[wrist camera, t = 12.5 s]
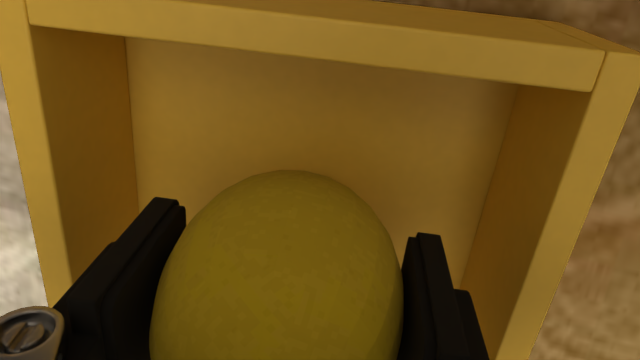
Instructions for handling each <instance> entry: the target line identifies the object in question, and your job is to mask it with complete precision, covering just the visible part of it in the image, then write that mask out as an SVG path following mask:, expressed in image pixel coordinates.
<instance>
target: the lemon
mask: <svg viewBox="0 0 640 360" xmlns="http://www.w3.org/2000/svg"><path fill="white" fill-rule="evenodd" d="M403 321H404V287H403V277H402V272H401V268H400V264H399V261H398V258H397V255H396V252H395V249H394V246H393V243H392V240H391V238H390V235H389V233H388V231H387V230H386V228H385V227H384V225H383V224H382V222H381V221H380V219H379V218H378V216H377V215H376V214H375V212H374V211H373V209H372V208H371V207H370V206H369V205H368V204H367V203H366V202H365V201H364V200H363V199H361V198H360V197H359V196H358V195H357V194H356V193H355V192H353V191H352V190H351V189H350V188H349V187H347V186H345V185H343V184H341V183H339V182H337V181H335V180H333V179H332V178H330V177H328V176H324V175H320V174H316V173H312V172H308V171H304V170H276V171H271V172H266V173H262V174H257V175H253V176H250V177H248V178H246V179H244V180H242V181H240V182H238V183H236V184H234V185H232V186H230V187H228V188H226V189H225V190H223V191H222V192H220V193H219V194H218V195H217V196H216V197H214V198H213V199H212V200H211V201H210V202H209V203H208V204H207V205H206V206H205V207H204V208H202V209H201V210H200V211H199V212H198V213H197V214H196V215H195V216H194V217H193V218H192V220H191V221H190V222H189V224H188V225H187V226H186V228H185V229H184V231H183V233H182V234H181V236H180V238H179V240H178V241H177V243H176V245H175V247H174V248H173V250H172V252H171V254H170V256H169V257H168V259H167V261H166V264H165V266H164V268H163V271H162V274H161V277H160V280H159V283H158V287H157V291H156V296H155V301H154V306H153V312H152V317H151V324H150V331H149V350H150V357H151V360H396V359H397V355H398V351H399V348H400V343H401V338H402V332H403Z"/></svg>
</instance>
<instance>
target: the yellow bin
mask: <svg viewBox="0 0 640 360" xmlns="http://www.w3.org/2000/svg"><path fill="white" fill-rule="evenodd" d="M0 71H1V76H2V80H3V85H4V90H5V95H6V100H7V105H8V110H9V115H10V120H11V125H12V130H13V135H14V140H15V144H16V149H17V154H18V159H19V164H20V169H21V174H22V179H23V184H24V189H25V194H26V199H27V204H28V208H29V213H30V218H31V223H32V228H33V233H34V238H35V243H36V248H37V253H38V258H39V263H40V268H41V272H42V277H43V282H44V287H45V292H46V297H47V302H48V307H50V308H52V307H53V306H54V305H55V304H56V303H57V302H58V301H59V299H60V298H61V297H62V296H63V295H64V294H65V293H66V291H67V290H68V289H69V288H70V287H71V286H72V285H73V284H74V282H75V281H76V280H77V279H78V278H79V277H80V276H81V275H82V273H83V272H84V271H85V270H86V269H87V268H88V267H89V265H90V264H91V263H92V262H93V261H94V260H95V259H96V258H97V256H98V255H99V254H100V253H101V252H102V251H103V250H104V249H105V247H106V246H107V245H109V244H110V243H111V242H115V241H116V240H117V239H118V238H119V237H120V236H121V235H122V233H123V232H124V231H125V230H126V229H127V228H128V227H129V225H130V224H131V223H132V222H133V221H134V220H135V218H136V217H137V216H138V215H139V214H140V213H141V212H142V210H143V209H144V208H145V207H146V206H147V205H148V204H149V202H150V201H151V200H152V199H153V198H154V197H162V198H169V199H177V200H178V201H179V205H180V206H184V207H185V209H186V226H187V225H188V224H189V222H190V221H191V220H192V218H193V217H194V216H195V215H196V214H197V213H198V212H199V211H200V210H201V209H202V208H204V207H205V206H206V205H207V204H208V203H209V202H210V201H211V200H212V199H213V198H214V197H216V196H217V195H218V194H219V193H220V192H222V191H223V190H225V189H226V188H228V187H230V186H232V185H234V184H236V183H238V182H240V181H242V180H244V179H246V178H248V177H250V176H253V175H257V174H262V173H266V172H271V171H276V170H304V171H308V172H312V173H316V174H320V175H324V176H328V177H330V178H332V179H333V180H335V181H337V182H339V183H341V184H343V185H345V186H347V187H349V188H350V189H351V190H352V191H353V192H355V193H356V194H357V195H358V196H359V197H360V198H361V199H363V200H364V201H365V202H366V203H367V204H368V205H369V206H370V207H371V208H372V209H373V211H374V212H375V214H376V215H377V216H378V218H379V219H380V221H381V222H382V224H383V225H384V227H385V228H386V230H387V231H388V233H389V235H390V238H391V240H392V243H393V246H394V249H395V252H396V255H397V258H398V261H399V264H400V268H401V267H402V263H403V258H404V254H405V249H406V244H407V240H408V237H409V236H410V237H416V235H417V233H418V232H422V233H429V234H437V235H440V236H441V239H442V243H443V247H444V251H445V255H446V259H447V263H448V267H449V271H450V275H451V279H452V283H453V287H454V289H460V290H467V291H468V292H469V293H470V295H471V298H472V301H473V305H474V308H475V311H476V315H477V318H478V322H479V325H480V328H481V332H482V335H483V339H484V342H485V345H486V349H487V352H488V356H489V359H490V360H528V358H529V356H530V353H531V351H532V348H533V346H534V344H535V341H536V339H537V336H538V334H539V331H540V329H541V326H542V324H543V322H544V319H545V317H546V314H547V312H548V309H549V307H550V304H551V302H552V300H553V297H554V295H555V292H556V290H557V287H558V285H559V282H560V280H561V278H562V275H563V273H564V270H565V268H566V265H567V263H568V260H569V258H570V256H571V253H572V251H573V248H574V246H575V243H576V241H577V238H578V236H579V234H580V231H581V229H582V226H583V224H584V221H585V219H586V216H587V214H588V212H589V209H590V207H591V204H592V202H593V199H594V197H595V194H596V192H597V190H598V187H599V185H600V182H601V180H602V177H603V175H604V172H605V170H606V168H607V165H608V163H609V160H610V158H611V155H612V153H613V150H614V148H615V146H616V143H617V141H618V138H619V136H620V133H621V131H622V128H623V126H624V124H625V121H626V119H627V116H628V114H629V111H630V109H631V106H632V104H633V102H634V99H635V97H636V94H637V92H638V89H639V87H640V52H638V51H636V50H633V49H630V48H628V47H625V46H622V45H620V44H617V43H614V42H612V41H609V40H606V39H603V38H601V37H598V36H595V35H593V34H590V33H587V32H585V31H582V30H579V29H577V28H574V27H571V26H568V25H565V24H563V23H560V22H555V21H546V20H537V19H529V18H520V17H511V16H503V15H494V14H485V13H477V12H468V11H459V10H451V9H442V8H433V7H425V6H416V5H407V4H399V3H390V2H381V1H373V0H0Z"/></svg>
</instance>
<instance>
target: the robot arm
mask: <svg viewBox="0 0 640 360" xmlns="http://www.w3.org/2000/svg"><path fill="white" fill-rule="evenodd" d="M185 228H186V209H185V207H184V206H180V205H179V201H178V200H177V199H169V198H162V197H154V198H153V199H152V200H151V201H150V202H149V204H148V205H147V206H146V207H145V208H144V209H143V210H142V212H141V213H140V214H139V215H138V216H137V217H136V218H135V220H134V221H133V222H132V223H131V224H130V225H129V227H128V228H127V229H126V230H125V231H124V232H123V233H122V235H121V236H120V237H119V238H118V239H117V240H116V241H115V242H111V243H110V244H109V245H107V246H106V247H105V249H104V250H103V251H102V252H101V253H100V254H99V255H98V256H97V258H96V259H95V260H94V261H93V262H92V263H91V264H90V265H89V267H88V268H87V269H86V270H85V271H84V272H83V273H82V275H81V276H80V277H79V278H78V279H77V280H76V281H75V282H74V284H73V285H72V286H71V287H70V288H69V289H68V290H67V291H66V293H65V294H64V295H63V296H62V297H61V298H60V299H59V301H58V302H57V303H56V304H55V305H54V306H53V307H52V308H50V307H46V306H31V307H25V308H20V309H17V310H14V311H11V312H9V313H6V314H5V315H3V316H1V317H0V360H151V357H150V350H149V331H150V324H151V317H152V312H153V306H154V301H155V296H156V291H157V287H158V283H159V280H160V277H161V274H162V271H163V268H164V266H165V264H166V261H167V259H168V257H169V256H170V254H171V252H172V250H173V248H174V247H175V245H176V243H177V241H178V240H179V238H180V236H181V234H182V233H183V231H184V229H185ZM401 272H402V277H403V287H404V321H403V332H402V338H401V343H400V348H399V351H398V355H397V359H396V360H490V359H489V356H488V352H487V349H486V345H485V342H484V339H483V335H482V332H481V328H480V325H479V322H478V318H477V315H476V311H475V308H474V305H473V301H472V298H471V295H470V293H469V292H468V291H467V290H460V289H454V287H453V283H452V279H451V275H450V271H449V267H448V263H447V259H446V255H445V251H444V247H443V243H442V239H441V236H440V235H437V234H429V233H422V232H418V233H417V235H416V237H410V236H409V237H408V240H407V244H406V249H405V254H404V258H403V263H402V267H401Z"/></svg>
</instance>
